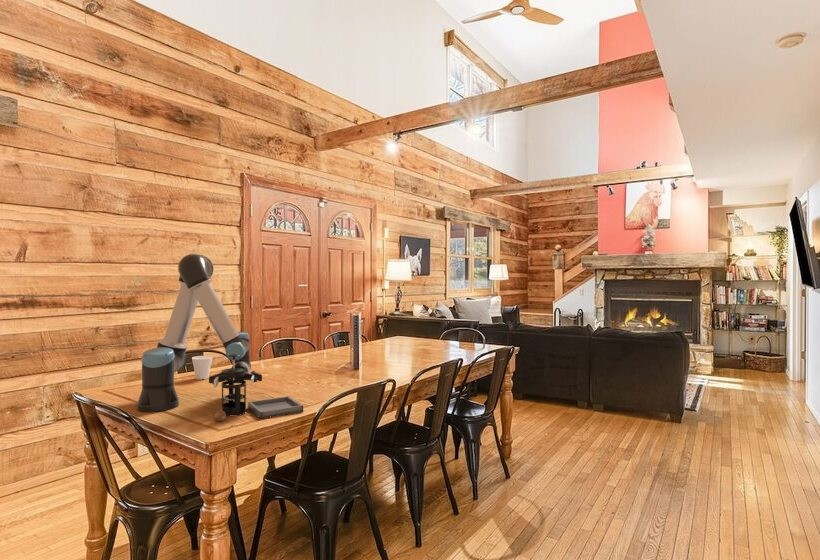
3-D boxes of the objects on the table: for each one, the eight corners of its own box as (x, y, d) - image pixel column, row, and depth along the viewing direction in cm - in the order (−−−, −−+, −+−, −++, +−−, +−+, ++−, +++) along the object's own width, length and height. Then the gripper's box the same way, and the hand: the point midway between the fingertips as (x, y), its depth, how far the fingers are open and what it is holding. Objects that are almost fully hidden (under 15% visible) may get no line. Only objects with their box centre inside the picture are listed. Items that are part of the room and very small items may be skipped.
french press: (218, 411, 191) (218, 353, 191) (242, 407, 196) (242, 351, 196) (225, 418, 181) (225, 358, 181) (250, 414, 187) (250, 356, 186)
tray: (260, 418, 182) (260, 412, 182) (248, 407, 196) (248, 401, 196) (303, 411, 191) (303, 405, 191) (288, 402, 205) (288, 396, 205)
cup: (216, 376, 252) (216, 356, 252) (206, 381, 242) (206, 359, 242) (198, 376, 253) (198, 355, 253) (187, 380, 243) (187, 358, 243)
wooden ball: (215, 423, 176) (215, 412, 175) (213, 420, 179) (213, 410, 179) (227, 421, 178) (227, 411, 178) (224, 419, 181) (224, 408, 181)
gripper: (269, 379, 209) (267, 391, 189) (208, 382, 203) (198, 394, 183) (269, 362, 209) (267, 372, 189) (208, 364, 203) (199, 374, 183)
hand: (233, 383), depth 186 cm, fingers open, 13 cm apart
